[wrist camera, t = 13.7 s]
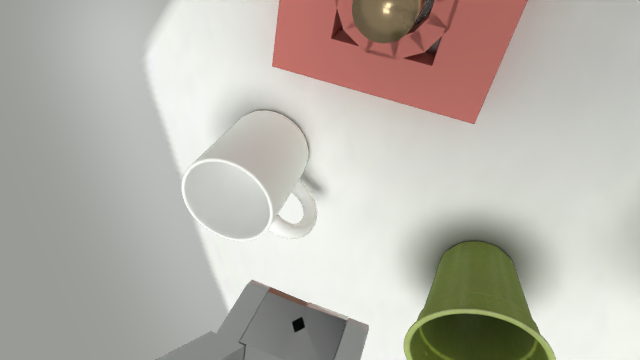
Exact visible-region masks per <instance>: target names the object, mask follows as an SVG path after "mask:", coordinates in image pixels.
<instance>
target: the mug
mask: <svg viewBox="0 0 640 360" xmlns="http://www.w3.org/2000/svg"><path fill="white" fill-rule="evenodd" d="M308 156H309V151H308V146H307V142H306V139H305V137H304V135H303V133H302V132H301V130H300V129H299V128H298V127H297V125H296V124H295V123H293V122H292V121H291V120H290V119H288V118H287V117H285V116H283V115H281V114H279V113H276V112H272V111H255V112H251V113H249V114H247V115H245V116H244V117H242V118H241V119H239V120H238V121H237V122H236V123H235V124H234V125H233V126H232V127H231V128H230V129H229V130H228V131H227V132H225V133H224V134H223V135H222V136H221V137H220V138H219V139H218V140H217V141H216V142H215V143H214V144H213V145H212V146H211V147H210V148H209V149H208V150H206V151H205V152H204V153H203V154H202V155H201V156H200V157H199V158H198V159H197V160H196V161H195V162H194V163H193V164H192V165H191V166H190V167H188V169H187V170H186V172H185V174H184V176H183V179H182V195H183V199H184V202H185V204H186V206H187V208H188V210H189V211H190V213H191V214H192V215H193V217H194V218H195V219H196V220H197V221H198V222H199V223H200V224H201V225H202V226H203V227H205V228H206V229H207V230H209V231H210V232H212V233H214V234H216V235H217V236H220V237H222V238H225V239H228V240H233V241H250V240H254V239H256V238H258V237H260V236H262V235H263V234H264V233H265V232H266V231H267V230H269V231H270V232H272V233H274V234H275V235H277V236H280V237H283V238H287V239H298V238H301V237H304V236H305V235H307V234H308V233H309V232H310V231H311V230H312V229H313V227H314V225H315V222H316V218H317V208H316V203H315V200H314V198H313V196H312V194H311V193H310V191H309V190H308V189H307V187H306V186H305V185H304V184H303V183H302V182H301V181H300V180H299V179H300V177H301V175H302V174H303V172H304V170H305V168H306V165H307V162H308ZM291 192H292V193H293V194H294V195H295V196H296V197H297V198H298V199H299V201H300V202H301V204H302V207H303V211H304V215H303V218H302V220H301V221H300V222H299V223H297V224H291V223H289V222H287V221H285V220H284V219H282V218H281V217H280V216H279V215H278V213H279V211H280V209H281V208H282V206H283V205H284V203H285V202H286V200H287V198H288V197H289V195H290V194H291Z"/></svg>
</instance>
